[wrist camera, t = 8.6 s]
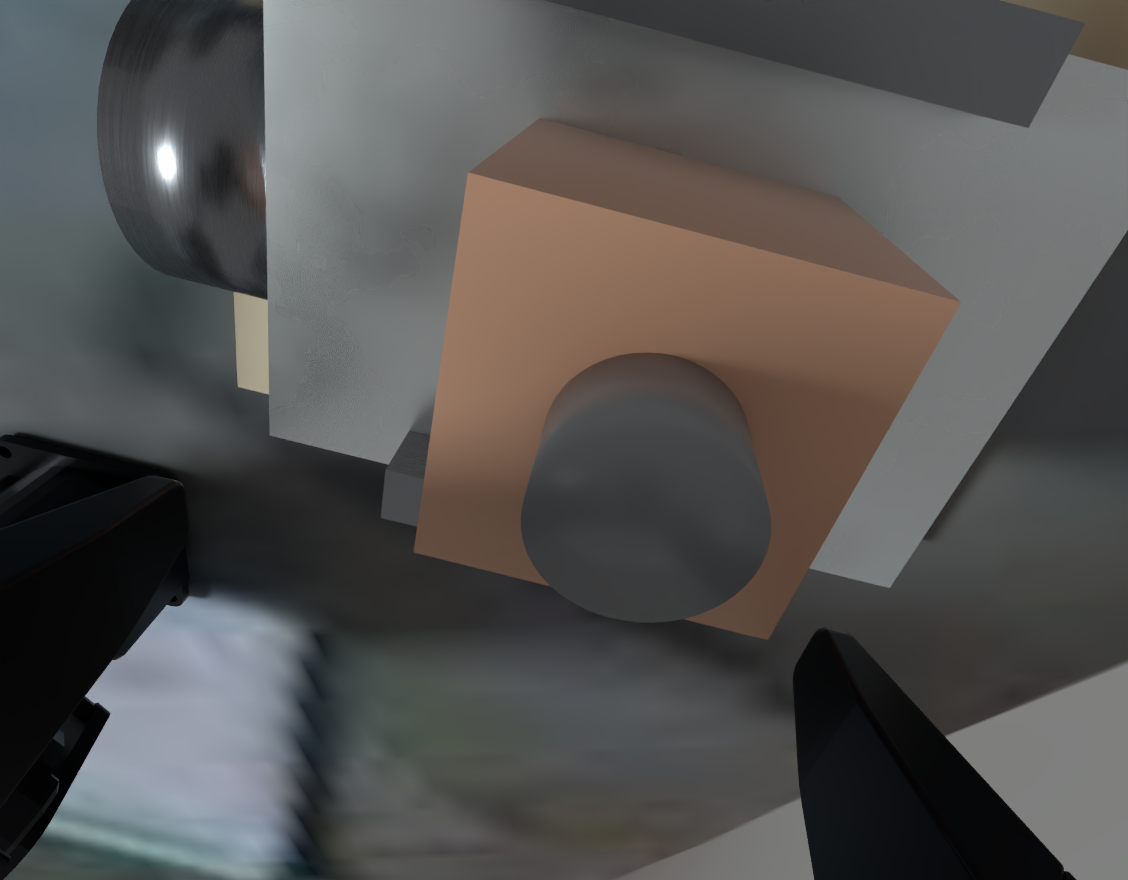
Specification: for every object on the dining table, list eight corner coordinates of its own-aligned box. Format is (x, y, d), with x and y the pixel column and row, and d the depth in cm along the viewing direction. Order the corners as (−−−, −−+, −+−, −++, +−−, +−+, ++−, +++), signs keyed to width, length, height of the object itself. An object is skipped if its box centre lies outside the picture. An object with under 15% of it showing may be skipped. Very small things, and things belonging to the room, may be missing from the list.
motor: (267, 312, 20) (84, 445, 13) (261, -141, 14) (-54, -283, 8) (825, 452, 20) (907, 646, 14) (1026, 63, 15) (1318, 85, 8)
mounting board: (250, 375, 22) (237, 386, 21) (228, -324, 13) (206, -342, 13) (899, 536, 22) (907, 552, 22) (1269, -40, 14) (1301, -44, 13)
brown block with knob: (488, 387, 13) (372, 643, 8) (539, 117, 11) (418, 209, 5) (730, 449, 14) (788, 745, 8) (839, 197, 11) (1041, 372, 5)
